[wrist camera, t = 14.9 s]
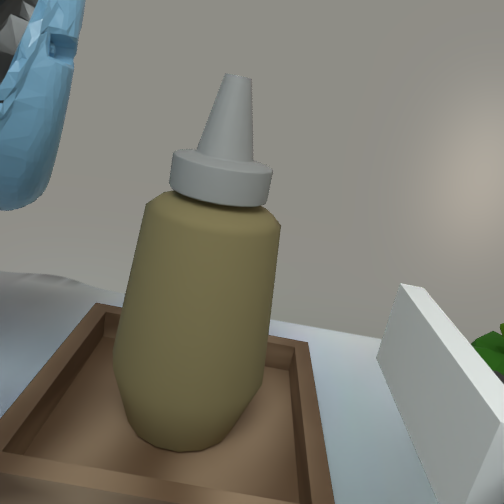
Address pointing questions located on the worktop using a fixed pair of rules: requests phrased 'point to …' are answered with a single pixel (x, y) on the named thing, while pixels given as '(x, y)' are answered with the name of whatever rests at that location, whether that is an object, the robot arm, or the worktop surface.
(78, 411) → the walnut tray
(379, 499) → the worktop surface
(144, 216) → the squeeze bottle
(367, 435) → the worktop surface
